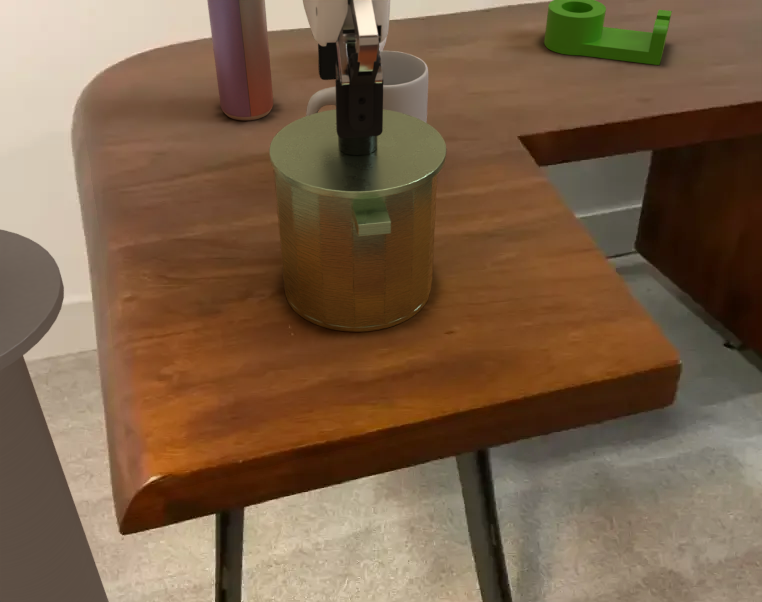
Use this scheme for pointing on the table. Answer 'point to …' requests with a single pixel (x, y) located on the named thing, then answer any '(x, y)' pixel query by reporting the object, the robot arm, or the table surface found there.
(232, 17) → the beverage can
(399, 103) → the mug
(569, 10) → the tape dispenser
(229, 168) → the table surface
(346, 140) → the lid
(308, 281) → the pot
